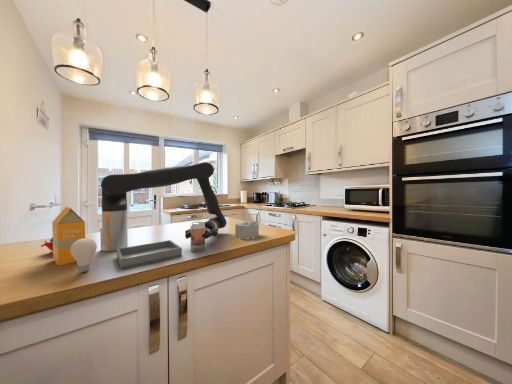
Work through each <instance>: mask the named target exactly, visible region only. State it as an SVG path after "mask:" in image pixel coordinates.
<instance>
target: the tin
mask: <svg viewBox="0 0 512 384" xmlns="http://www.w3.org/2000/svg"><path fill="white" fill-rule="evenodd" d="M205 222H206V221H193V222H190V228H189V229H190V232H191V237H190V252H191V253H194V254H197V253H198V254H199V253H203V252H205V251H206V239H205Z"/></svg>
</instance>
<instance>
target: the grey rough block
mask: <svg viewBox="0 0 512 384" xmlns="http://www.w3.org/2000/svg"><path fill="white" fill-rule="evenodd" d="M259 225H260V224H259V222H257V221H255V220H246V219H244V220H241V221H239V222H237V223H235V225H234V226H235V228H234V229H235V231H234V232H235V238H237V237H238V238H237V239H239V238H240V239H239V240H242V239H245V240H248V239H247V238H253V237H257V236H258V235H259V236H260V231H259V230H260V227H259ZM259 236H258V237H259ZM258 237H257V238H258ZM253 239H254V238H253Z"/></svg>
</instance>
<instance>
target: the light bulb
mask: <svg viewBox="0 0 512 384" xmlns="http://www.w3.org/2000/svg"><path fill="white" fill-rule="evenodd" d="M97 248H98V247H97V242H96V240H94V239H92V238H87V237H85V238H83V239H79V240H77V241H76V242H74V243H73V244H72V246H71V249H70V253H71V255H72V256H73V257H74V259H75V260H76V261H77V262H76V265H77V266H78V272H80V273H86V272H88V271H89V270H90V269H91V267H90V264H91V263H92V259H93V256H94V255H95V253H96V251H97Z"/></svg>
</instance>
